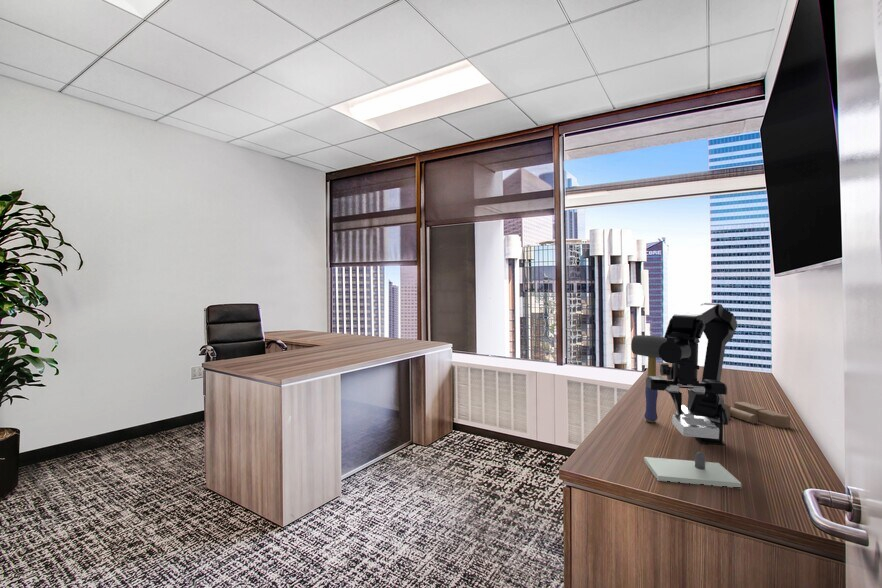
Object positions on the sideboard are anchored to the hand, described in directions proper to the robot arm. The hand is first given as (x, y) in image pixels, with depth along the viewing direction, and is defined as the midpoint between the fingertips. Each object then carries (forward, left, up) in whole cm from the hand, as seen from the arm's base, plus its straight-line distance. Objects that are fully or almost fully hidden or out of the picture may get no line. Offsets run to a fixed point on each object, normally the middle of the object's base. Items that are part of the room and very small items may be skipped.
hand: (684, 415), depth 112 cm
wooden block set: (-33, -37, -12) cm, 51 cm away
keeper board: (+3, +11, -11) cm, 16 cm away
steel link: (0, +4, -1) cm, 4 cm away
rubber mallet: (0, -29, -12) cm, 31 cm away
